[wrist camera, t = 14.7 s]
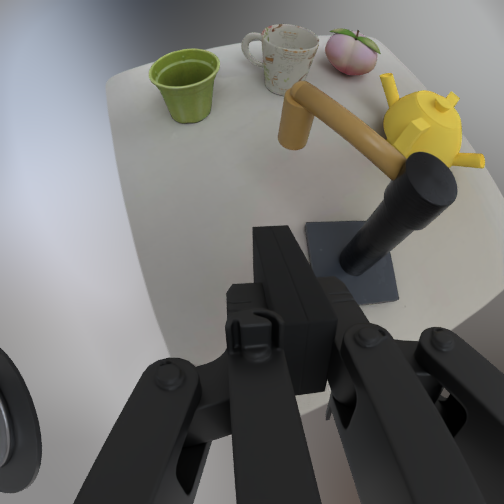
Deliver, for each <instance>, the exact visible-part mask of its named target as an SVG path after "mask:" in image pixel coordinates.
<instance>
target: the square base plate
mask: <svg viewBox="0 0 504 504" xmlns="http://www.w3.org/2000/svg"><path fill="white" fill-rule="evenodd" d="M413 231H414V230H409V229H406V228H404V227H402V226H401V225H399V224H398V223H397V222H396V221H395V220H394V219H393V218H392V217H391V216H390V214H389V213H388V211H387V209H386V206H385V202H384V200H383V201H382V202H381V203H380V205H379V206H378V207H377V208H376V210H375V211H374V212H373V214H372V215H371V216H370V217H369V219H368V220H367V221H339V222H307V223H306V224H305V232H306V239H307V246H308V253H309V261H310V266H311V268H312V270H313V272H314V274H315V276H316V278H317V277H330V276H334V277H336V278H337V279H339V280H340V281H342V282H343V283H344V284H345V285H346V287H347V288H348V290H349V291H350V293H351V294H352V296H353V297H354V300H356V302H357V304H358V305H359V306H360V305H369V304H377V303H385V302H393V301H397V300H399V297H398V291H397V285H396V280H395V274H394V269H393V264H392V259H391V254H390V251H391V250H392V249H393V248H395V247H396V246H397V245H398V244H399V243H400V242H402V241H403V240H404V239H405V238H406V237H407V236H408V235H410V234H411V233H412V232H413Z"/></svg>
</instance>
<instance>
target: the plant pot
mask: <svg viewBox="0 0 504 504" xmlns="http://www.w3.org/2000/svg"><path fill="white" fill-rule="evenodd" d="M219 68H220V61H219V59H218V57H217V56H216V55H215V54H213V53H211V52H209V51H206V50H201V49H184V50H179V51H175V52H172V53H169V54H167V55H165V56H163V57H161V58H160V59H158V60H157V61H156V62H155V63H154V64H153V65H152V66H151V68H150V70H149V78H150V80H151V82H152V83H153V84H154V85H156V86H157V88H158V89H159V90H160V92H161V94H162V96H163V98H164V101H165V103H166V105H167V107H168V110H169V112H170V114H171V116H172V118H173V119H174V120H175V121H177V122H180V123H188V122H191V123H196V122H198V121H201V120H203V119H204V118H205V117H207V116H208V114H209V113H210V110H211V104H212V93H213V84H214V79H215V77H216V74H217V72H218V70H219Z"/></svg>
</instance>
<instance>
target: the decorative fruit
mask: <svg viewBox="0 0 504 504" xmlns="http://www.w3.org/2000/svg"><path fill="white" fill-rule="evenodd" d="M330 32H334V33H335V34H334V35H333V36H331V37H330V39H329V40H328V42H327V44H326V47H325V52H326V56H327V58H328V60H329V61H330V62H331V64H332V65H333V66H334V67H335V68H336V69H338V70H339V71H341V72H342V73H345V74H347V75H363V74H366V73H369V72H370V71H372V70H373V69H374V67H375V65H376V62H377V53H379V54H381V53H380V50H379V48H378V46H377V45H376V44H375V43H374V42H373V41H372V40H370V39H369V38H367V37H366V36H364V35H362V34H360V33H359V30H358V31H357V32H354V31H349V30H347V29H335V30H332V31H330Z"/></svg>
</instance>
